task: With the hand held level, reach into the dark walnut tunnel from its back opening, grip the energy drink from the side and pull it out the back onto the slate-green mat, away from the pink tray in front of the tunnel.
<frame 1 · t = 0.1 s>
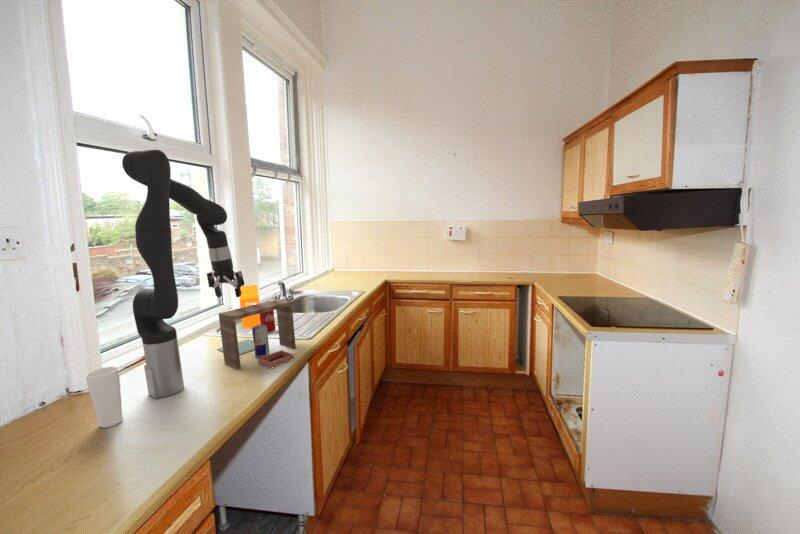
hand: (229, 296, 155), 22 cm above the countertop, tool pointing down, fingers open, 8 cm apart
orange juice: (252, 325, 193), on the countertop
beverage can: (268, 332, 180), on the countertop
tunnel: (261, 355, 150), on the countertop
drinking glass: (111, 424, 106), on the countertop
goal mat: (241, 348, 160), on the countertop
pink tray: (276, 361, 144), on the countertop
energy drink: (262, 356, 150), on the countertop
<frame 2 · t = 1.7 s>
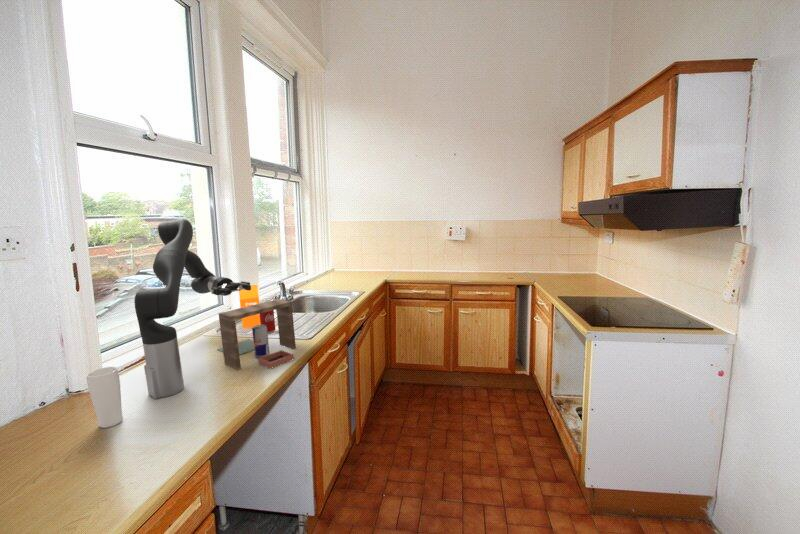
hand: (239, 289, 154), 25 cm above the countertop, tool horizontal, fingers open, 8 cm apart
nothing on the countertop moved.
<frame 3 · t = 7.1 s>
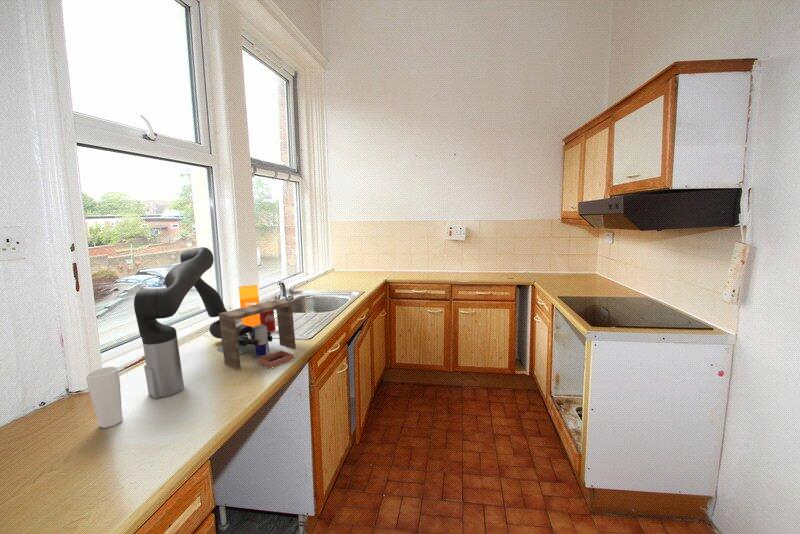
hand: (264, 341, 147), 7 cm above the countertop, tool horizontal, fingers closed on energy drink, 5 cm apart
energy drink: (262, 356, 150), on the countertop, touching gripper
everything else where it was.
when the fingers open (8 cm above the countertop, at t = 12.5 s): energy drink stays where it is, resting on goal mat.
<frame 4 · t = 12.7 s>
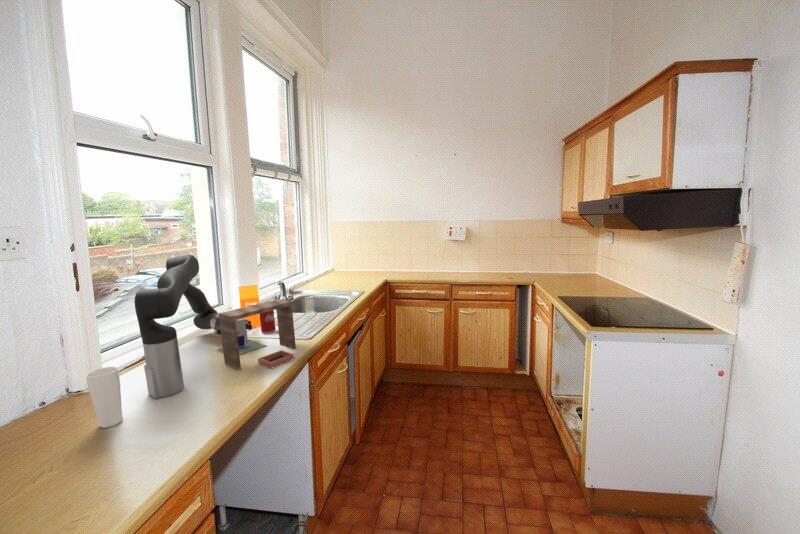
hand: (242, 329, 158), 8 cm above the countertop, tool horizontal, fingers open, 7 cm apart
energy drink: (241, 347, 160), resting on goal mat
everything else where it was.
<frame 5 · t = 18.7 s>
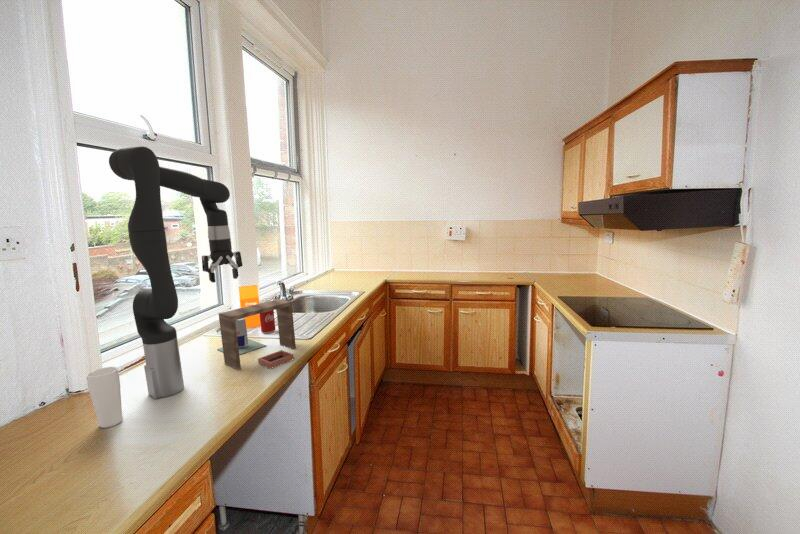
hand: (224, 280, 148), 30 cm above the countertop, tool pointing down, fingers open, 8 cm apart
nothing on the countertop moved.
at the end: energy drink inside the target area (0.1 cm from its centre), resting on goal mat; energy drink tilted 0°; the gripper is holding nothing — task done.
